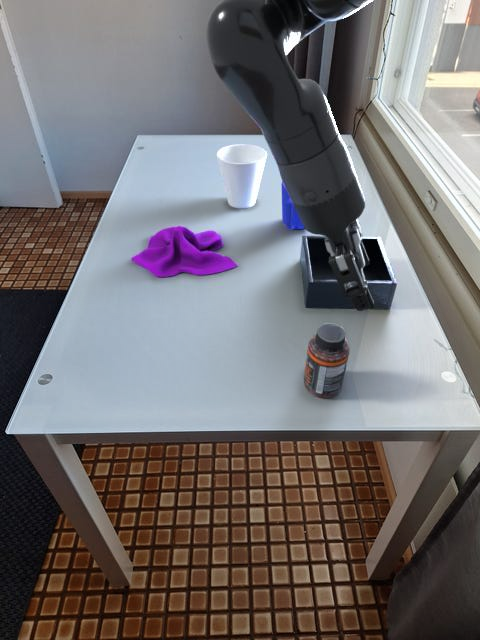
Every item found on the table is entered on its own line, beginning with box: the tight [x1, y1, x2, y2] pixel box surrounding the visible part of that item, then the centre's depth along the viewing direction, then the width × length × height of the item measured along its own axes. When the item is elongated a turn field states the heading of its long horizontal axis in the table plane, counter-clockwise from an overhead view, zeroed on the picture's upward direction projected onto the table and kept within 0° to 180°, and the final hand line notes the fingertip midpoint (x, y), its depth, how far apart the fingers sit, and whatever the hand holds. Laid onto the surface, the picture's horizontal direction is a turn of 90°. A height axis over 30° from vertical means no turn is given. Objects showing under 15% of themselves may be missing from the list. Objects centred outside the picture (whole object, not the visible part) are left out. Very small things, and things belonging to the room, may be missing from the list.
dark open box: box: [299, 235, 398, 310], centre depth 91 cm, size 16×16×6 cm
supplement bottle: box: [303, 322, 351, 399], centre depth 70 cm, size 6×6×11 cm
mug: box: [281, 180, 305, 230], centre depth 106 cm, size 8×12×10 cm
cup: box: [216, 143, 268, 209], centre depth 115 cm, size 12×12×12 cm
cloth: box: [130, 225, 238, 278], centre depth 99 cm, size 22×19×6 cm
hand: (363, 285), depth 62 cm, fingers open, 8 cm apart
